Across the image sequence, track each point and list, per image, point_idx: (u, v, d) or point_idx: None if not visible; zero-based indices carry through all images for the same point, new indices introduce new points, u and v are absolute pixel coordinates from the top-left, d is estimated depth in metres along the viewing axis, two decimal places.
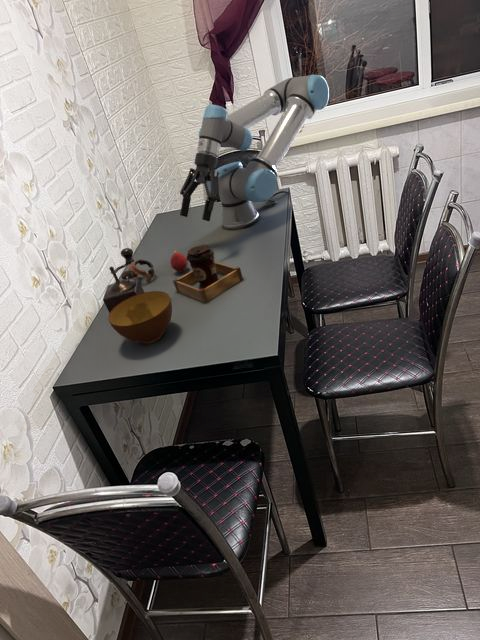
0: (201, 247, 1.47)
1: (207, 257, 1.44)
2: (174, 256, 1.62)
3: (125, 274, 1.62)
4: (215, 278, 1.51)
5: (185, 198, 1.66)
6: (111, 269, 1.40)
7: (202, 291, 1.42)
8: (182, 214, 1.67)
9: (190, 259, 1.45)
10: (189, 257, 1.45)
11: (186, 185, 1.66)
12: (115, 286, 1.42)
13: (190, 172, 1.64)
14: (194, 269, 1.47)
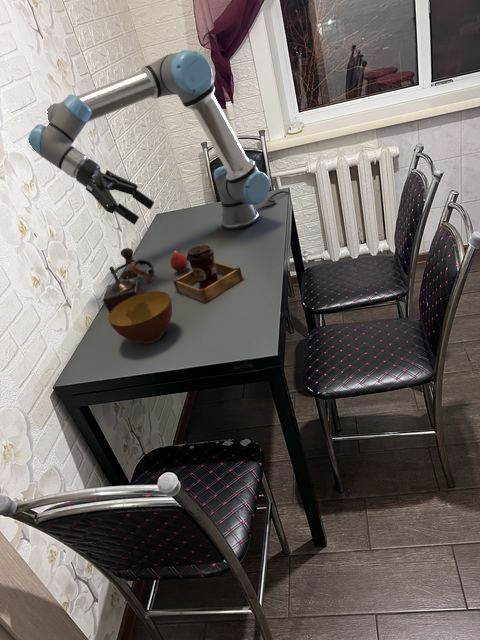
0: (201, 247, 1.47)
1: (207, 257, 1.44)
2: (174, 256, 1.62)
3: (125, 274, 1.62)
4: (215, 278, 1.51)
5: (133, 196, 1.47)
6: (111, 269, 1.40)
7: (202, 291, 1.42)
8: (149, 207, 1.48)
9: (190, 259, 1.45)
10: (189, 257, 1.45)
11: None
12: (115, 286, 1.42)
13: None
14: (194, 269, 1.47)
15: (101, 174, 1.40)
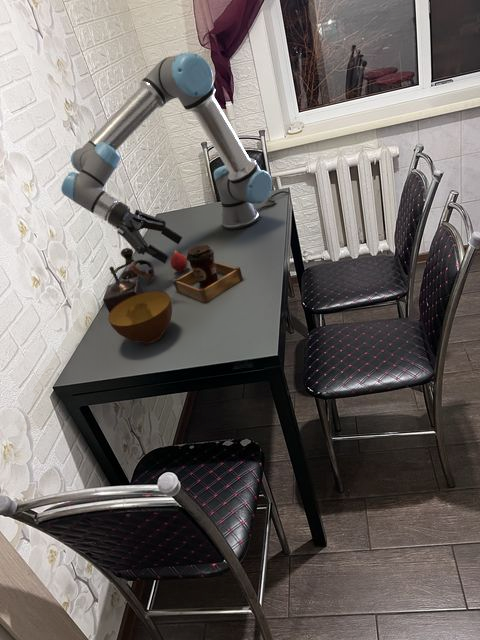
0: (201, 247, 1.47)
1: (207, 257, 1.44)
2: (174, 256, 1.62)
3: (125, 274, 1.62)
4: (215, 278, 1.51)
5: (162, 233, 1.52)
6: (111, 269, 1.40)
7: (202, 291, 1.42)
8: (177, 242, 1.53)
9: (190, 259, 1.45)
10: (189, 257, 1.45)
11: None
12: (115, 286, 1.42)
13: None
14: (194, 269, 1.47)
15: (131, 215, 1.45)
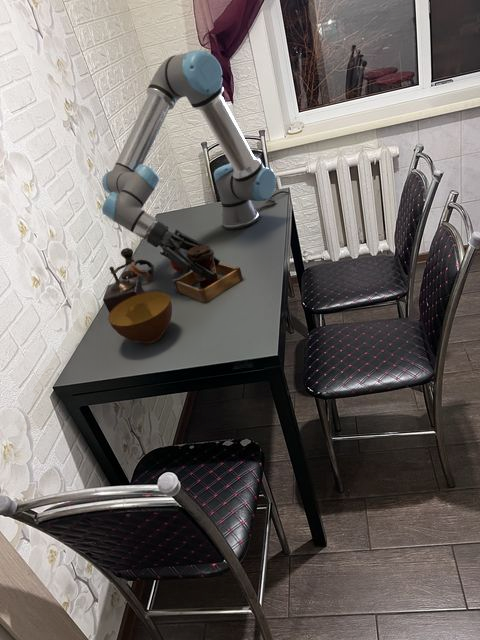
0: (201, 247, 1.47)
1: (207, 257, 1.44)
2: None
3: (125, 274, 1.62)
4: (215, 278, 1.51)
5: None
6: (111, 269, 1.40)
7: (202, 291, 1.42)
8: (215, 265, 1.53)
9: (190, 259, 1.44)
10: (189, 257, 1.45)
11: None
12: (115, 286, 1.42)
13: None
14: None
15: (169, 233, 1.47)
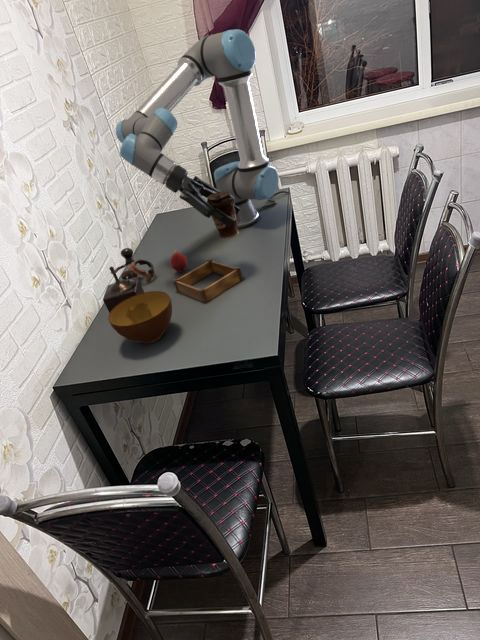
0: (221, 193, 1.43)
1: (228, 202, 1.40)
2: (174, 256, 1.62)
3: (125, 274, 1.62)
4: (235, 226, 1.46)
5: None
6: (111, 269, 1.40)
7: (202, 291, 1.42)
8: None
9: None
10: (209, 203, 1.40)
11: None
12: (115, 286, 1.42)
13: None
14: None
15: (188, 179, 1.42)
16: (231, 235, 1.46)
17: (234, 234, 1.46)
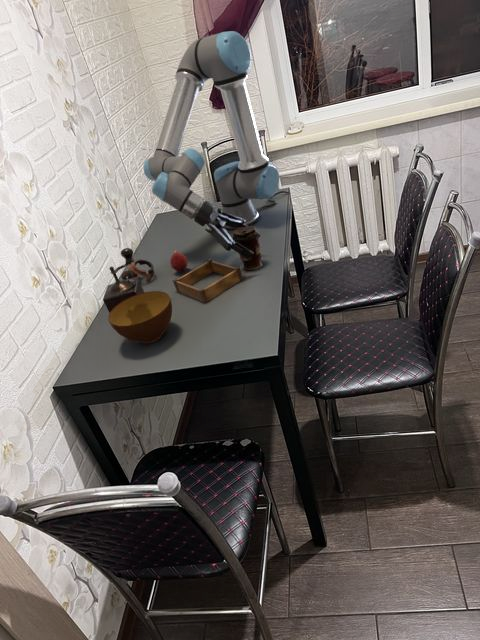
0: (246, 228, 1.52)
1: (253, 237, 1.49)
2: (174, 256, 1.62)
3: (125, 274, 1.62)
4: (259, 258, 1.56)
5: None
6: (111, 269, 1.40)
7: (202, 291, 1.42)
8: None
9: (236, 239, 1.49)
10: (235, 237, 1.49)
11: None
12: (115, 286, 1.42)
13: None
14: None
15: (215, 213, 1.51)
16: (255, 267, 1.55)
17: (258, 266, 1.55)
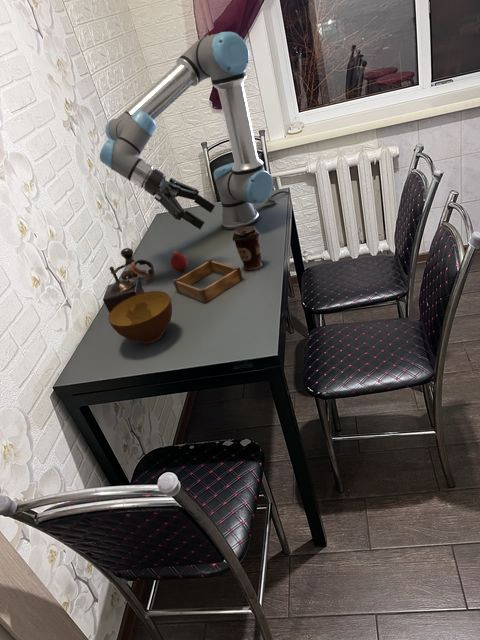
0: (246, 228, 1.52)
1: (253, 237, 1.49)
2: (174, 256, 1.62)
3: (125, 274, 1.62)
4: (259, 258, 1.56)
5: (195, 201, 1.55)
6: (111, 269, 1.40)
7: (202, 291, 1.42)
8: (210, 210, 1.56)
9: (236, 239, 1.49)
10: (235, 237, 1.49)
11: None
12: (115, 286, 1.42)
13: None
14: (240, 249, 1.52)
15: (166, 182, 1.48)
16: (255, 267, 1.55)
17: (258, 266, 1.55)
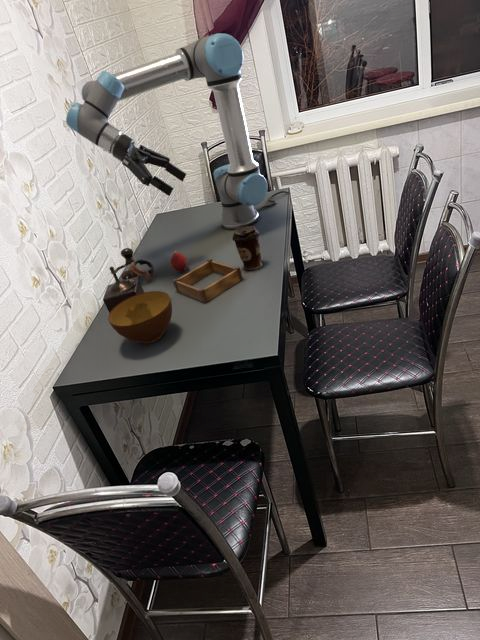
0: (246, 228, 1.52)
1: (253, 237, 1.49)
2: (174, 256, 1.62)
3: (125, 274, 1.62)
4: (259, 258, 1.56)
5: (166, 169, 1.52)
6: (111, 269, 1.40)
7: (202, 291, 1.42)
8: (181, 179, 1.53)
9: (236, 239, 1.49)
10: (235, 237, 1.49)
11: None
12: (115, 286, 1.42)
13: None
14: (240, 249, 1.52)
15: (135, 148, 1.45)
16: (255, 267, 1.55)
17: (258, 266, 1.55)
